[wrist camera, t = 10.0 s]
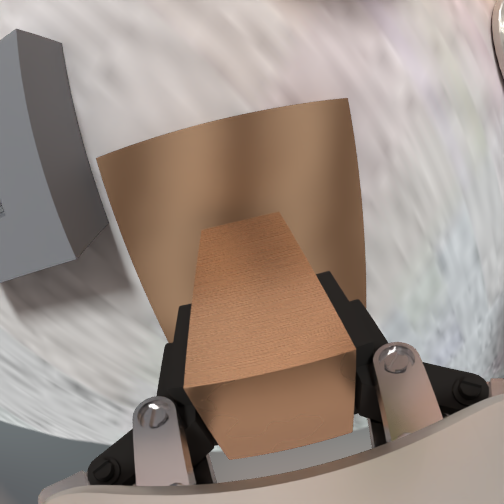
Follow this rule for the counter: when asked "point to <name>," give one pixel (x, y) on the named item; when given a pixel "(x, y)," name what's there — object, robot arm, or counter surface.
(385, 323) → the counter surface
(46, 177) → the socket block
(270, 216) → the copper peg
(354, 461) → the robot arm
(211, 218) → the walnut mat
